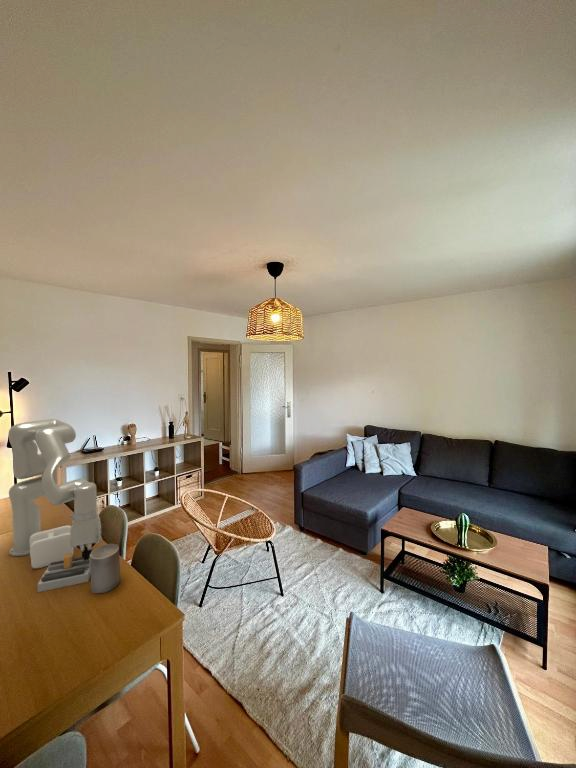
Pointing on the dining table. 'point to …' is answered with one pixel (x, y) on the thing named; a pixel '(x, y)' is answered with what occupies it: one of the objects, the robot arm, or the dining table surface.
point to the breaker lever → (68, 561)
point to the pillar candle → (105, 568)
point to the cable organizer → (50, 546)
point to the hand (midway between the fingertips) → (87, 558)
